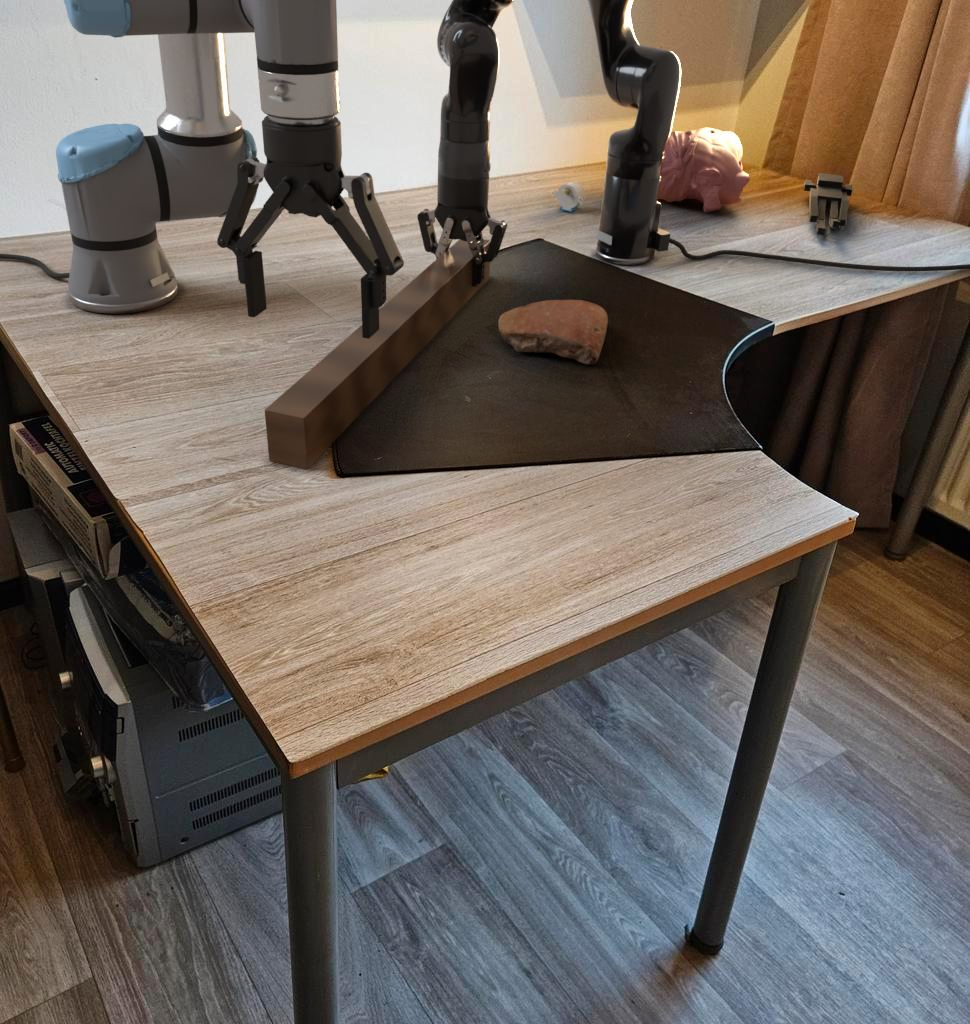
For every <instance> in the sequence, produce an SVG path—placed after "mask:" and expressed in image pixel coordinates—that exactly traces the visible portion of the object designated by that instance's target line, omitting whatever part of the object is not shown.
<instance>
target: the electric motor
mask: <svg viewBox="0 0 970 1024" xmlns="http://www.w3.org/2000/svg"><path fill="white" fill-rule="evenodd" d="M554 194H555V195H554ZM551 196H552V198H556V199H557V200H556V201H557V202H558V204H559V206H560V211H564V212H569V213H572V212H574V211H576V210H578V209H579V207H580V205H582V203H584V201H585V199H586V190H585V188H584V186H583V185H582V184H581V183H580V182H579V181H570V182H568V183H566V184H563V185H562V186H560V187H559V188H558V190H557V191H556V190H553V191H552V192H551Z"/></svg>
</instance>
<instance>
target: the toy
mask: <svg viewBox="0 0 970 1024" xmlns="http://www.w3.org/2000/svg"><path fill="white" fill-rule="evenodd" d="M843 184H844V176H843V175H839V174H831V173H822V172H819V173H818V175H817V179H816V183H813V180H812V179H808V178H807V179H805V180H804V184H803V191H805V192H809V194H808V198H809V199H808V200H809V201H808V202H809V223H815V230H816V235H817V236H822V237H823V236H825V233H826V229H827V228H826V221H825V218H826V210H829V217H828V226H829V227H830V228H831V229H837V230H838V229H840V227H843V228H844V227H845V228H846V224H847V221H848V219H847V218H848V212H849V206H850V201H849V197H852V193H853V184H850V183H849V184H848V183H846V184H844V186H843Z"/></svg>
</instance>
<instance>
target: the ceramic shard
mask: <svg viewBox="0 0 970 1024" xmlns="http://www.w3.org/2000/svg"><path fill="white" fill-rule="evenodd" d="M497 323H498V331H499V334H500V335H501V337H502V339H503V341H505V342H506V343H507V345H510V346H512V348H513V349H514V351H515V352H518V353H551V354H555V355H556V356H558V357H561V358H566V359H572V360H574V361H577V362H579V363H582V364H583V365H594V364H596V363H597V362H598V360H599V358H600V355H601V352H602V349H603V347H604V342H605V339H606V335H607V328H608V323H609V318H608V313H607V311H606V310H605V309H604V308H603V307H601V306H600V305H599V304H596V303H593V302H590V301H587V300H584V299H546V300H542V301H536V302H531V303H528V304H527V305H520V306H518V307H514V308H512V309H509V310H508V311H504V312H503V313H501V315H500V316H499V319H498V321H497Z"/></svg>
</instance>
